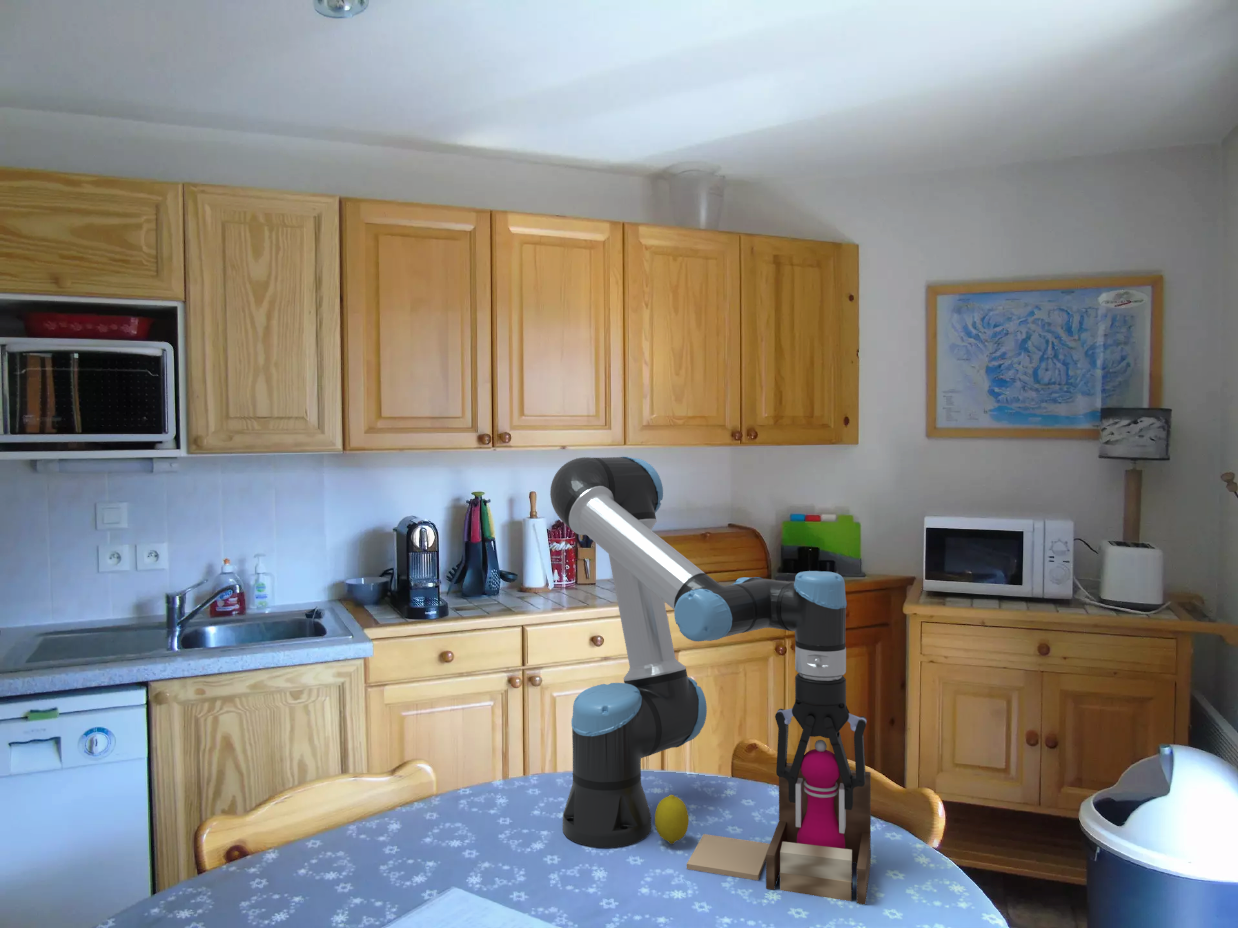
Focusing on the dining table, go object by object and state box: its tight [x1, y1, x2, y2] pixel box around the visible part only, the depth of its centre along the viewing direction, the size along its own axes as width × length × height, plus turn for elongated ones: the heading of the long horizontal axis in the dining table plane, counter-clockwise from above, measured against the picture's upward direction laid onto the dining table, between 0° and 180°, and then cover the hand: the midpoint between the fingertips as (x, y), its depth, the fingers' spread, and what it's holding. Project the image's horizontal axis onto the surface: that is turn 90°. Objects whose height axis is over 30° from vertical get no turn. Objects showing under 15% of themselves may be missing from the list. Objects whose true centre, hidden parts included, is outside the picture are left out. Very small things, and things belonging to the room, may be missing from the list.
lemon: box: [654, 794, 690, 845], centre depth 139 cm, size 6×6×8 cm
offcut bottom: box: [779, 870, 854, 902], centre depth 124 cm, size 10×4×3 cm, turn 71°
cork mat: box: [686, 833, 770, 881], centre depth 134 cm, size 11×11×1 cm
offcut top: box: [780, 842, 853, 882], centre depth 124 cm, size 10×4×3 cm, turn 74°
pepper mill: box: [797, 739, 845, 849], centre depth 129 cm, size 7×7×20 cm
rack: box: [765, 762, 872, 905], centre depth 128 cm, size 14×14×14 cm
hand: (820, 825), depth 129 cm, fingers open, 6 cm apart
